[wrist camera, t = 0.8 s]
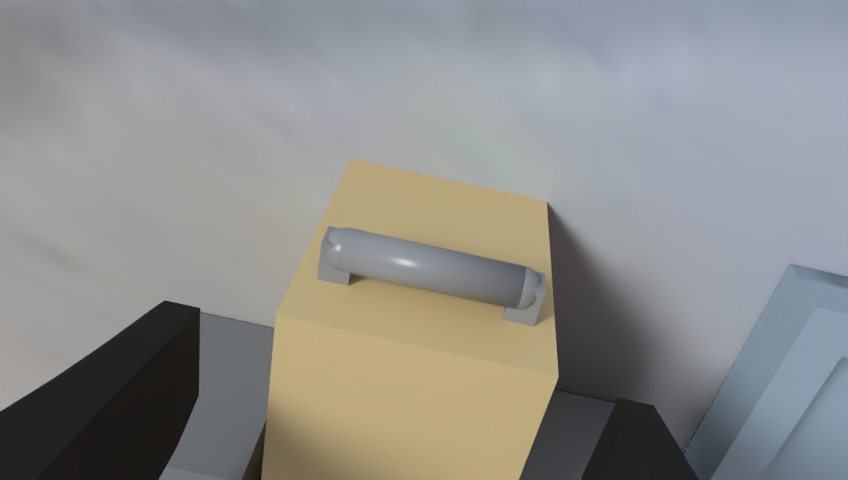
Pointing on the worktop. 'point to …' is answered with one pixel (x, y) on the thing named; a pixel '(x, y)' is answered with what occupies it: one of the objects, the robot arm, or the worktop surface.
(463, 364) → the tan block with handle
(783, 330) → the tray
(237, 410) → the dock
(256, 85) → the worktop surface
